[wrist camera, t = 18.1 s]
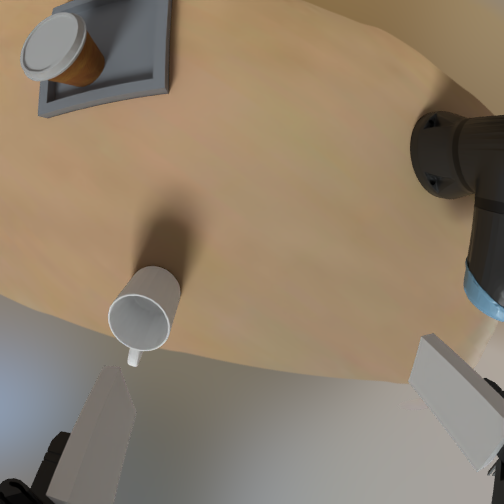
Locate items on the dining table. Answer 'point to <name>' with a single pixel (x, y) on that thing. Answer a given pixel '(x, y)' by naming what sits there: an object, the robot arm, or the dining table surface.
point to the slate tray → (117, 54)
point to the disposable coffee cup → (62, 52)
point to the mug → (145, 311)
